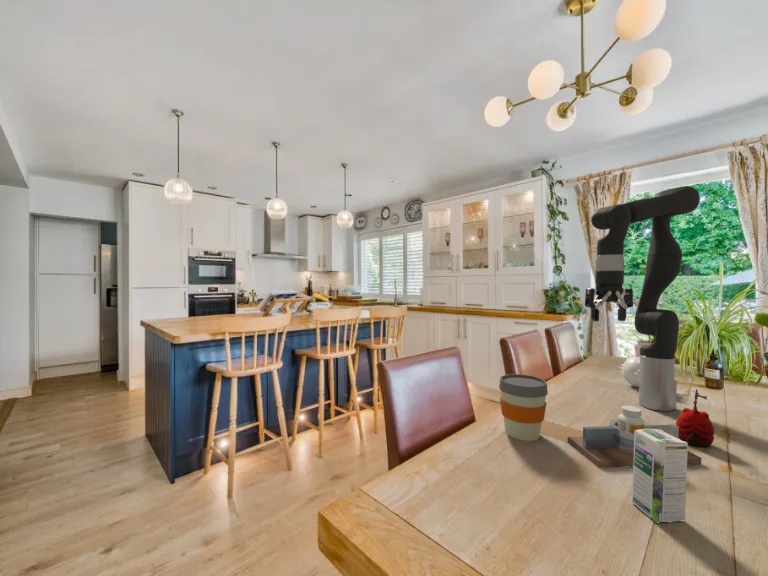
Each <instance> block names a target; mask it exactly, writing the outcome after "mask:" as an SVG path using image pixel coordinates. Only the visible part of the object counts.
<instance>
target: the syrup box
mask: <svg viewBox="0 0 768 576" xmlns="http://www.w3.org/2000/svg"><path fill="white" fill-rule="evenodd" d="M688 448H689V444H687V442H685V441H682V440H680V439H679V438H678V439H677V438H675V437H673V436H671V435H669V434H667V433H665V432H664V431H662V430H658V429H639V430H635V433H634V464H633V466H632V467H633V468H632V469H633V470H632V494H631V495H632V496H631V503H633V506H635V505H636V507H637V508H638V509H639V510H640V511H641V512H643V513H644V514H646V516H647V517H649V518H650V519H651V518H652V521H653V522H655V523H656V522H667V523H670V522H669V521H680V522H682V521H681V520H685V521H686V503H687V501H686V499H687V498H686V497H687V496H686V495H687V474H688V473H687V471H688V465H687V453H688V451H689V450H688Z"/></svg>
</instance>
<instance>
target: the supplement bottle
mask: <svg viewBox="0 0 768 576" xmlns="http://www.w3.org/2000/svg"><path fill="white" fill-rule="evenodd" d="M641 416H642V409H641V408H638V407H636V406H633V405H632V406H631V405H622V406H621V413H620V414H618V416H617V420H618V427H619V428H621V429H622V430H626V431H630V432H634V433H635V430H639V429H644V425H645V420H644V419H643V418H642V417H641Z"/></svg>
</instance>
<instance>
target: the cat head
mask: <svg viewBox="0 0 768 576" xmlns="http://www.w3.org/2000/svg"><path fill="white" fill-rule="evenodd" d="M619 366H620V367H619ZM619 366H617V367H616V368H617V369H621V371H617V373H621V374H622V377H623V378H624V380H625V381H626V382H627V383H628V384H629V385H631V386H633V387H636V388H638V389H639V369H640V356H634V355H632V354H630V353H628V354H627V355H626V360H625V362H624V363H623V364H619ZM621 366H622V367H621Z"/></svg>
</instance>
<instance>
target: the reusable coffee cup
mask: <svg viewBox="0 0 768 576" xmlns="http://www.w3.org/2000/svg"><path fill="white" fill-rule="evenodd" d="M499 390H500V396H499V403H500V410H501V414H502V416H503V423H504V424H503V425H504V430H505V431H504V432H505V433H506V435H508V436H509V437H511V438H514V439H517V440H520V441H526V442H527V441H529V442H531V441H536V440H538V439H539V438H540V436H541V430H542V425H543V424H542V423H543V421H544V420H545V416H546V408H547V402H546V400H547V399H546V396H548V393H549V392H548V384H547V381H546V380H545V379H543V378H540V377H537V376H533V375H529V374H521V373H510V374H508V373H507V374H504V375H502V376H500V377H499Z"/></svg>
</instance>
